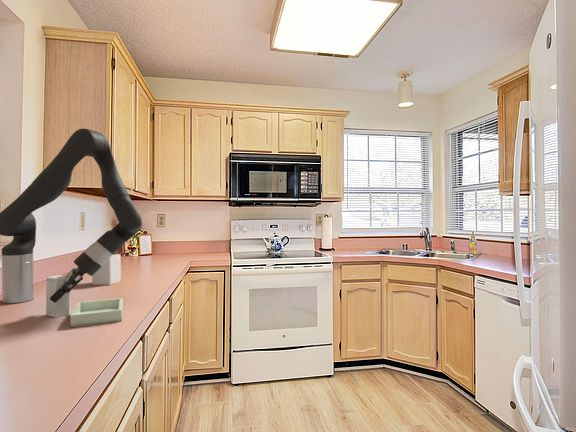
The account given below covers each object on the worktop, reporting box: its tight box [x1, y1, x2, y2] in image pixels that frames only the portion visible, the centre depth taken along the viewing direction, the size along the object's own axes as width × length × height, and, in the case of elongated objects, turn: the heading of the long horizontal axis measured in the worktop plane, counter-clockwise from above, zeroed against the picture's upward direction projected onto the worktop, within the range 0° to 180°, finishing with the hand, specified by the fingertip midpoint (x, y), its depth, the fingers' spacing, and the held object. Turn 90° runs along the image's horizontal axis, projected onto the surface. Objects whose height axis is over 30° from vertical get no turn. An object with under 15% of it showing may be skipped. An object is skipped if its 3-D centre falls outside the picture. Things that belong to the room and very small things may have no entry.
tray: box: [69, 297, 124, 328], centre depth 109 cm, size 16×13×3 cm
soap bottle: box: [91, 253, 122, 286], centre depth 161 cm, size 9×9×19 cm
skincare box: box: [45, 274, 71, 318], centre depth 111 cm, size 6×4×12 cm
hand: (52, 298), depth 110 cm, fingers closed on skincare box, 7 cm apart
